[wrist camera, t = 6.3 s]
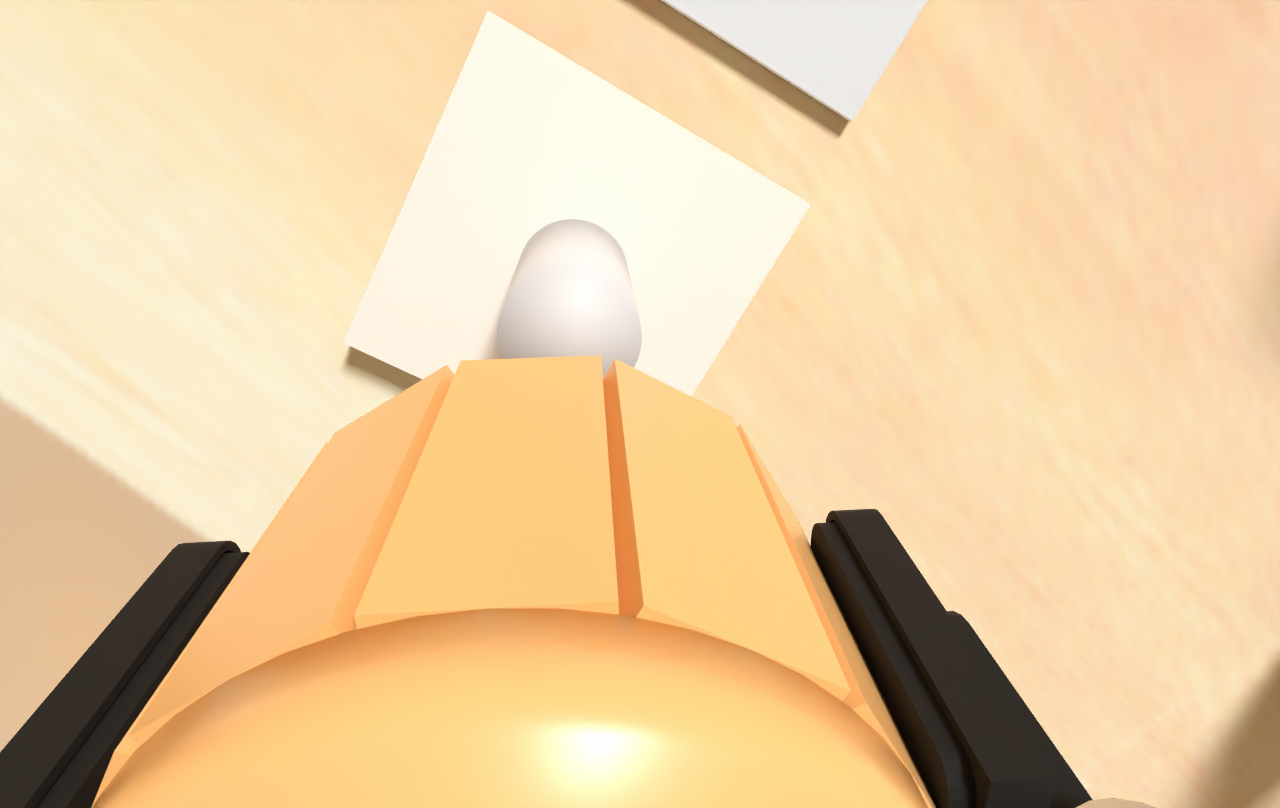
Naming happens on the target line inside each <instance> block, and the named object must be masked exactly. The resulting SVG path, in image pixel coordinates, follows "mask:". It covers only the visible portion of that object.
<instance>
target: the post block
mask: <svg viewBox="0 0 1280 808" xmlns="http://www.w3.org/2000/svg"><path fill="white" fill-rule="evenodd" d="M810 205H811V204H810V203H808V202H806V201H805V200H803V199H801V198H800V197H798V196H796V195H795V194H793V193H791V192H790V191H788V190H786V189H785V188H783V187H781V186H780V185H778V184H776V183H775V182H773V181H771V180H770V179H768V178H766V177H765V176H763V175H761V174H760V173H758V172H756V171H755V170H753V169H751V168H750V167H748V166H746V165H745V164H743V163H741V162H740V161H738V160H736V159H735V158H733V157H731V156H730V155H728V154H726V153H725V152H723V151H721V150H720V149H718V148H716V147H715V146H713V145H711V144H710V143H708V142H706V141H705V140H703V139H701V138H700V137H698V136H696V135H695V134H693V133H691V132H690V131H688V130H686V129H685V128H683V127H681V126H680V125H678V124H676V123H675V122H673V121H671V120H670V119H668V118H666V117H665V116H663V115H661V114H660V113H658V112H656V111H655V110H653V109H651V108H650V107H648V106H646V105H645V104H643V103H641V102H640V101H638V100H636V99H635V98H633V97H631V96H630V95H628V94H626V93H625V92H623V91H621V90H620V89H618V88H616V87H615V86H613V85H611V84H610V83H608V82H606V81H605V80H603V79H601V78H600V77H598V76H596V75H595V74H593V73H591V72H590V71H588V70H586V69H585V68H583V67H581V66H580V65H578V64H576V63H575V62H573V61H571V60H570V59H568V58H566V57H565V56H563V55H561V54H560V53H558V52H556V51H555V50H553V49H551V48H550V47H548V46H546V45H545V44H543V43H541V42H540V41H538V40H536V39H535V38H533V37H531V36H530V35H528V34H526V33H525V32H523V31H521V30H520V29H518V28H516V27H515V26H513V25H511V24H510V23H508V22H506V21H505V20H503V19H501V18H500V17H498V16H496V15H495V14H493V13H491V12H490V11H488V12H487V14H486V16H485V18H484V21H483V23H482V25H481V28H480V30H479V32H478V34H477V37H476V39H475V41H474V44H473V46H472V48H471V51H470V53H469V55H468V57H467V60H466V62H465V64H464V67H463V69H462V71H461V73H460V76H459V78H458V80H457V83H456V85H455V87H454V89H453V92H452V94H451V96H450V99H449V101H448V103H447V106H446V108H445V110H444V112H443V115H442V117H441V119H440V122H439V124H438V126H437V128H436V131H435V133H434V135H433V138H432V140H431V142H430V145H429V147H428V149H427V151H426V154H425V156H424V158H423V161H422V163H421V165H420V167H419V170H418V172H417V174H416V177H415V179H414V181H413V184H412V186H411V188H410V190H409V193H408V195H407V197H406V200H405V202H404V204H403V206H402V209H401V211H400V213H399V216H398V218H397V220H396V222H395V225H394V227H393V229H392V232H391V234H390V236H389V239H388V241H387V243H386V245H385V248H384V250H383V252H382V255H381V257H380V259H379V261H378V264H377V266H376V268H375V271H374V273H373V275H372V278H371V280H370V282H369V284H368V287H367V289H366V291H365V294H364V296H363V298H362V300H361V303H360V305H359V307H358V310H357V312H356V314H355V317H354V319H353V321H352V323H351V326H350V328H349V330H348V333H347V335H346V337H345V339H344V342H343V343H344V344H347V345H349V346H351V347H353V348H355V349H357V350H360V351H362V352H364V353H366V354H368V355H370V356H373V357H375V358H377V359H379V360H381V361H383V362H386V363H388V364H390V365H392V366H394V367H396V368H399V369H401V370H403V371H405V372H407V373H409V374H412V375H414V376H416V377H418V378H420V379H424V378H426V377H427V376H429V375H431V374H432V373H434V372H436V371H437V370H439V369H440V368H442V367H444V366H445V365H448V366H449V368H450V369H451V370H452V372H453V373H454V374H455V373H456V370H457V368H458V366H459V363H460V361H461V360H488V359H516V358H544V357H571V356H599V355H601V361H602V375H603V378H604V376H605V375H606V373H607V371H608V369H609V368H610V366H611V364H612V362H613V361H614V359H617V360H619V361H621V362H623V363H625V364H627V365H629V366H631V367H633V368H635V369H637V370H639V371H641V372H643V373H645V374H647V375H649V376H651V377H653V378H655V379H657V380H659V381H661V382H663V383H665V384H667V385H669V386H671V387H673V388H675V389H677V390H679V391H681V392H683V393H685V394H687V395H689V396H692V395H693V393H694V392H695V390H696V388H697V387H698V385H699V384H700V382H701V380H702V379H703V377H704V376H705V374H706V372H707V371H708V369H709V367H710V366H711V364H712V363H713V361H714V359H715V358H716V356H717V355H718V353H719V351H720V350H721V348H722V347H723V345H724V343H725V342H726V340H727V339H728V337H729V335H730V334H731V332H732V330H733V329H734V327H735V326H736V324H737V322H738V321H739V319H740V318H741V316H742V314H743V313H744V311H745V310H746V308H747V306H748V305H749V303H750V301H751V300H752V298H753V297H754V295H755V293H756V292H757V290H758V289H759V287H760V285H761V284H762V282H763V281H764V279H765V277H766V276H767V274H768V273H769V271H770V269H771V268H772V266H773V264H774V263H775V261H776V260H777V258H778V256H779V255H780V253H781V252H782V250H783V248H784V247H785V245H786V244H787V242H788V240H789V239H790V237H791V235H792V234H793V232H794V231H795V229H796V227H797V226H798V224H799V223H800V221H801V219H802V218H803V216H804V215H805V213H806V211H807V210H808V208H809V207H810Z"/></svg>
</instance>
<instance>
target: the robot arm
mask: <svg viewBox="0 0 1280 808" xmlns="http://www.w3.org/2000/svg"><path fill="white" fill-rule="evenodd" d="M810 547H811V549H812V551H813V553H814V555H815V557H816V559H817V561H818V563H819V566H820V568H821V570H822V572H823V574H824V576H825V578H826V580H827V582H828V584H829V586H830V588H831V590H832V592H833V594H834V597H835V599H836V601H837V603H838V605H839V607H840V609H841V611H842V613H843V615H844V617H845V619H846V621H847V623H848V626H849V628H850V630H851V632H852V634H853V636H854V638H855V640H856V642H857V644H858V646H859V648H860V650H861V652H862V655H863V657H864V659H865V661H866V663H867V665H868V667H869V669H870V671H871V673H872V675H873V677H874V679H875V681H876V684H877V686H878V688H879V690H880V692H881V694H882V696H883V698H884V700H885V702H886V704H887V706H888V708H889V710H890V712H891V715H892V717H893V719H894V721H895V723H896V725H897V727H898V729H899V731H900V733H901V735H902V737H903V739H904V741H905V744H906V746H907V748H908V750H909V752H910V754H911V756H912V758H913V760H914V762H915V764H916V766H917V768H918V770H919V773H920V775H921V777H922V779H923V781H924V783H925V785H926V787H927V789H928V791H929V793H930V795H931V797H932V799H933V802H934V804H935V806H936V808H1155V807H1153V806H1150V805H1147V804H1144V803H1142V802H1135V801H1129V800H1123V799H1116V798H1109V799H1100V800H1092V798H1091V797H1090V795H1089V794H1088V793H1087V791H1086V790H1085V788H1084V787H1083V785H1082V784H1081V783H1080V781H1079V780H1078V778H1077V777H1076V775H1075V774H1074V773H1073V771H1072V770H1071V768H1070V767H1069V765H1068V764H1067V763H1066V761H1065V760H1064V758H1063V757H1062V755H1061V754H1060V753H1059V751H1058V750H1057V748H1056V747H1055V745H1054V744H1053V743H1052V741H1051V740H1050V738H1049V737H1048V735H1047V734H1046V733H1045V731H1044V730H1043V728H1042V727H1041V725H1040V724H1039V723H1038V721H1037V720H1036V718H1035V717H1034V715H1033V714H1032V713H1031V711H1030V710H1029V708H1028V707H1027V705H1026V704H1025V703H1024V701H1023V700H1022V698H1021V697H1020V695H1019V694H1018V693H1017V691H1016V690H1015V688H1014V687H1013V685H1012V684H1011V683H1010V681H1009V680H1008V678H1007V677H1006V675H1005V674H1004V673H1003V671H1002V670H1001V668H1000V667H999V665H998V664H997V663H996V661H995V660H994V658H993V657H992V655H991V654H990V653H989V651H988V650H987V648H986V647H985V645H984V644H983V643H982V641H981V640H980V638H979V637H978V635H977V634H976V633H975V631H974V630H973V628H972V627H971V625H970V624H969V623H968V622H967V621H966V620H965V618H964V617H963V616H962V615H961V614H958V613H956V612H954V611H946V610H945V608H944V607H943V605H942V604H941V602H940V601H939V599H938V598H937V596H936V595H935V593H934V592H933V591H932V589H931V588H930V586H929V585H928V583H927V582H926V580H925V579H924V577H923V576H922V574H921V573H920V571H919V570H918V568H917V567H916V565H915V564H914V562H913V561H912V559H911V558H910V556H909V555H908V553H907V552H906V550H905V549H904V547H903V546H902V545H901V543H900V542H899V540H898V539H897V537H896V536H895V534H894V533H893V531H892V530H891V528H890V527H889V525H888V524H887V522H886V521H885V519H884V518H883V516H882V515H881V514H880V512H879V511H878V510H876V509H861V510H841V511H831V512H830V513H829V514H828V516H827V519H826V523H816V524H815V525H814V526H813V529H812V535H811V546H810ZM249 554H250V553H249V552H241V551H240V548H239V547H238V546H237V544H236V543H234V542H232V541H216V542H196V543H183V544H178V545H177V546H176V547H175V548H174V549H172V551H171V552H170V553H169V554H168V555H167V557H166V558H165V559H164V560H163V561H162V562H161V564H160V565H159V566H158V567H157V568H156V569H155V571H154V572H153V573H152V574H151V575H150V577H149V578H148V579H147V580H146V581H145V582H144V584H143V585H142V586H141V587H140V588H139V590H138V591H137V592H136V593H135V594H134V596H133V597H132V598H131V599H130V600H129V602H128V603H127V604H126V605H125V606H124V607H123V608H122V610H121V611H120V612H119V613H118V614H117V615H116V617H115V618H114V619H113V620H112V621H111V623H110V624H109V625H108V626H107V627H106V628H105V630H104V631H103V632H102V633H101V634H100V636H99V637H98V638H97V639H96V640H95V642H94V643H93V644H92V645H91V646H90V647H89V648H88V650H87V651H86V652H85V653H84V654H83V656H82V657H81V658H80V659H79V660H78V661H77V663H76V664H75V665H74V666H73V667H72V669H71V670H70V671H69V672H68V673H67V674H66V676H65V677H64V678H63V679H62V680H61V682H60V683H59V684H58V685H57V686H56V687H55V689H54V690H53V691H52V692H51V693H50V694H49V696H48V697H47V698H46V699H45V700H44V702H43V703H42V704H41V705H40V706H39V707H38V709H37V710H36V711H35V712H34V713H33V715H32V716H31V717H30V718H29V719H28V720H27V722H26V723H25V724H24V725H23V726H22V727H21V729H20V730H19V731H18V732H17V734H16V735H15V736H14V737H13V738H12V739H11V740H10V742H9V743H8V744H7V745H6V746H5V748H4V749H3V750H2V751H1V752H0V808H91V807H92V805H93V802H94V800H95V797H96V795H97V792H98V790H99V788H100V785H101V783H102V780H103V778H104V775H105V773H106V770H107V768H108V765H109V763H110V760H111V758H112V755H113V753H114V751H115V749H116V748H117V746H118V745H119V744H120V742H121V741H122V739H123V738H124V736H125V735H126V733H127V732H128V730H129V729H130V728H131V726H132V725H133V723H134V722H135V720H136V719H137V717H138V716H139V714H140V713H141V712H142V710H143V709H144V707H145V706H146V704H147V703H148V701H149V700H150V698H151V697H152V696H153V694H154V693H155V691H156V690H157V688H158V687H159V685H160V684H161V682H162V681H163V680H164V678H165V677H166V675H167V674H168V672H169V671H170V669H171V668H172V666H173V665H174V664H175V662H176V661H177V659H178V658H179V656H180V655H181V653H182V652H183V650H184V649H185V648H186V646H187V645H188V643H189V642H190V640H191V639H192V637H193V636H194V634H195V633H196V632H197V630H198V629H199V627H200V626H201V624H202V623H203V621H204V620H205V618H206V617H207V616H208V614H209V613H210V611H211V610H212V608H213V607H214V605H215V604H216V602H217V601H218V600H219V598H220V597H221V595H222V594H223V592H224V591H225V589H226V588H227V586H228V585H229V584H230V582H231V581H232V579H233V578H234V576H235V575H236V573H237V572H238V570H239V569H240V568H241V566H242V565H243V563H244V562H245V560H246V559H247V557H248V556H249Z"/></svg>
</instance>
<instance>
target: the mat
mask: <svg viewBox="0 0 1280 808" xmlns="http://www.w3.org/2000/svg"><path fill="white" fill-rule="evenodd" d="M661 1H663V2H664V3H666V4H667V5H669V6H670V7H672V8H673V9H675V10H677V11H678V12H680V13H681V14H683V15H684V16H686V17H688V18H689V19H691V20H692V21H694V22H695V23H697V24H698V25H700V26H702V27H703V28H705V29H706V30H708V31H709V32H711V33H712V34H714V35H716V36H717V37H719V38H720V39H722V40H723V41H725V42H726V43H728V44H730V45H731V46H733V47H734V48H736V49H737V50H739V51H740V52H742V53H744V54H745V55H747V56H748V57H750V58H751V59H753V60H755V61H756V62H758V63H759V64H761V65H762V66H764V67H765V68H767V69H769V70H770V71H772V72H773V73H775V74H776V75H778V76H779V77H781V78H783V79H784V80H786V81H787V82H789V83H790V84H792V85H793V86H795V87H797V88H798V89H800V90H801V91H803V92H804V93H806V94H807V95H809V96H811V97H812V98H814V99H815V100H817V101H818V102H820V103H822V104H823V105H825V106H826V107H828V108H829V109H831V110H832V111H834V112H836V113H837V114H839V115H840V116H842V117H843V118H845V119H846V120H850V121H853V120H854V118H855V117H856V115H857V114H858V112H859V110H860V109H861V107H862V105H863V104H864V102H865V101H866V99H867V97H868V96H869V94H870V93H871V91H872V89H873V88H874V86H875V84H876V83H877V81H878V80H879V78H880V76H881V75H882V73H883V71H884V70H885V68H886V67H887V65H888V63H889V62H890V60H891V58H892V57H893V55H894V54H895V52H896V50H897V49H898V47H899V46H900V44H901V42H902V41H903V39H904V37H905V36H906V34H907V33H908V31H909V29H910V28H911V26H912V24H913V23H914V21H915V20H916V18H917V16H918V15H919V13H920V11H921V10H922V8H923V7H924V5H925V3H926V2H927V0H661Z"/></svg>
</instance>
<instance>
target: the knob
mask: <svg viewBox="0 0 1280 808" xmlns="http://www.w3.org/2000/svg"><path fill="white" fill-rule="evenodd" d="M91 808H936V806H935V804H934V802H933V799H932V797H931V795H930V793H929V791H928V789H927V787H926V785H925V783H924V781H923V779H922V777H921V775H920V773H919V770H918V768H917V766H916V764H915V762H914V760H913V758H912V756H911V754H910V752H909V750H908V748H907V746H906V744H905V741H904V739H903V737H902V735H901V733H900V731H899V729H898V727H897V725H896V723H895V721H894V719H893V717H892V715H891V712H890V710H889V708H888V706H887V704H886V702H885V700H884V698H883V696H882V694H881V692H880V690H879V688H878V686H877V684H876V681H875V679H874V677H873V675H872V673H871V671H870V669H869V667H868V665H867V663H866V661H865V659H864V657H863V655H862V652H861V650H860V648H859V646H858V644H857V642H856V640H855V638H854V636H853V634H852V632H851V630H850V628H849V626H848V623H847V621H846V619H845V617H844V615H843V613H842V611H841V609H840V607H839V605H838V603H837V601H836V599H835V597H834V594H833V592H832V590H831V588H830V586H829V584H828V582H827V580H826V578H825V576H824V574H823V572H822V570H821V568H820V566H819V563H818V561H817V559H816V557H815V555H814V553H813V551H812V549H811V547H810V544H809V542H808V540H807V538H806V536H805V534H804V532H803V530H802V528H801V525H800V523H799V521H798V519H797V518H796V516H795V514H794V513H793V511H792V509H791V508H790V506H789V504H788V503H787V501H786V499H785V498H784V496H783V494H782V493H781V491H780V490H779V488H778V486H777V485H776V483H775V481H774V480H773V478H772V476H771V475H770V473H769V471H768V470H767V468H766V466H765V465H764V463H763V461H762V460H761V458H760V456H759V455H758V453H757V451H756V450H755V448H754V446H753V445H752V443H751V441H750V440H749V438H748V436H747V435H746V433H745V432H744V430H743V428H742V427H741V425H739V426H737V427H736V426H735V424H734V421H733V419H732V417H731V416H729V415H727V414H725V413H723V412H721V411H719V410H717V409H715V408H713V407H711V406H709V405H707V404H705V403H703V402H701V401H699V400H697V399H695V398H693V397H691V396H689V395H687V394H685V393H683V392H681V391H679V390H677V389H675V388H673V387H671V386H669V385H667V384H665V383H663V382H661V381H659V380H657V379H655V378H653V377H651V376H649V375H647V374H645V373H643V372H641V371H639V370H637V369H635V368H633V367H631V366H629V365H627V364H625V363H623V362H621V361H619V360H617V359H614V361H613V362H612V364H611V366H610V368H609V369H608V371H607V373H606V375H605V376H604V378H603V375H602V361H601V355H599V356H571V357H544V358H516V359H488V360H461V361H460V363H459V366H458V368H457V370H456V373H455V374H454V373H453V372H452V370H451V369H450V368H449V366H448V365H445V366H444V367H442V368H440V369H439V370H437V371H436V372H434V373H432V374H431V375H429V376H427V377H426V378H424V379H422V380H421V381H419V382H418V383H416V384H414V385H413V386H411V387H409V388H408V389H406V390H404V391H403V392H401V393H400V394H398V395H396V396H395V397H393V398H391V399H390V400H388V401H386V402H385V403H383V404H382V405H380V406H378V407H377V408H375V409H373V410H372V411H370V412H368V413H367V414H365V415H364V416H362V417H360V418H359V419H357V420H355V421H354V422H352V423H350V424H349V425H347V426H346V427H344V428H342V429H341V430H339V431H337V432H336V433H335V434H334V435H333V437H332V438H331V440H330V441H329V442H328V443H327V442H326V444H325V445H324V447H323V448H322V450H321V451H320V453H319V454H318V456H317V457H316V458H315V460H314V461H313V463H312V464H311V466H310V467H309V469H308V470H307V472H306V473H305V474H304V476H303V477H302V479H301V480H300V482H299V483H298V485H297V486H296V488H295V489H294V490H293V492H292V493H291V495H290V496H289V498H288V499H287V501H286V502H285V504H284V505H283V506H282V508H281V509H280V511H279V512H278V514H277V515H276V517H275V518H274V520H273V521H272V522H271V524H270V525H269V527H268V528H267V530H266V531H265V533H264V534H263V536H262V537H261V538H260V540H259V541H258V543H257V544H256V546H255V547H254V549H253V550H252V552H251V553H250V554H249V556H248V557H247V559H246V560H245V562H244V563H243V565H242V566H241V568H240V569H239V570H238V572H237V573H236V575H235V576H234V578H233V579H232V581H231V582H230V584H229V585H228V586H227V588H226V589H225V591H224V592H223V594H222V595H221V597H220V598H219V600H218V601H217V602H216V604H215V605H214V607H213V608H212V610H211V611H210V613H209V614H208V616H207V617H206V618H205V620H204V621H203V623H202V624H201V626H200V627H199V629H198V630H197V632H196V633H195V634H194V636H193V637H192V639H191V640H190V642H189V643H188V645H187V646H186V648H185V649H184V650H183V652H182V653H181V655H180V656H179V658H178V659H177V661H176V662H175V664H174V665H173V666H172V668H171V669H170V671H169V672H168V674H167V675H166V677H165V678H164V680H163V681H162V682H161V684H160V685H159V687H158V688H157V690H156V691H155V693H154V694H153V696H152V697H151V698H150V700H149V701H148V703H147V704H146V706H145V707H144V709H143V710H142V712H141V713H140V714H139V716H138V717H137V719H136V720H135V722H134V723H133V725H132V726H131V728H130V729H129V730H128V732H127V733H126V735H125V736H124V738H123V739H122V741H121V742H120V744H119V745H118V746H117V748H116V749H115V751H114V753H113V755H112V758H111V760H110V763H109V765H108V768H107V770H106V773H105V775H104V778H103V780H102V783H101V785H100V788H99V790H98V792H97V795H96V797H95V800H94V802H93V805H92V807H91Z"/></svg>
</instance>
